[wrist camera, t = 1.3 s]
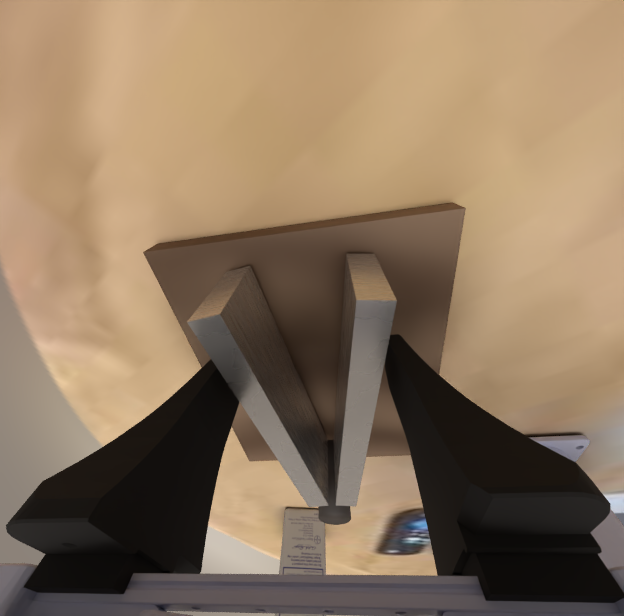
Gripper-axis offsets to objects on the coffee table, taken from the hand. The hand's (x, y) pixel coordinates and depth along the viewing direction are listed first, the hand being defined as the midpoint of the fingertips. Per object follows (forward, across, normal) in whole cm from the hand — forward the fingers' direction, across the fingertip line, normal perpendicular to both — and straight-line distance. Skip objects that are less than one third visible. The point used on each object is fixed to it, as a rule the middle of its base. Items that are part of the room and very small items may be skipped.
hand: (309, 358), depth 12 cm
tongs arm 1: (+2, +2, +3) cm, 4 cm away
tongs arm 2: (+2, -2, +3) cm, 4 cm away
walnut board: (+3, 0, +4) cm, 5 cm away
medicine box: (+3, +5, +28) cm, 29 cm away
